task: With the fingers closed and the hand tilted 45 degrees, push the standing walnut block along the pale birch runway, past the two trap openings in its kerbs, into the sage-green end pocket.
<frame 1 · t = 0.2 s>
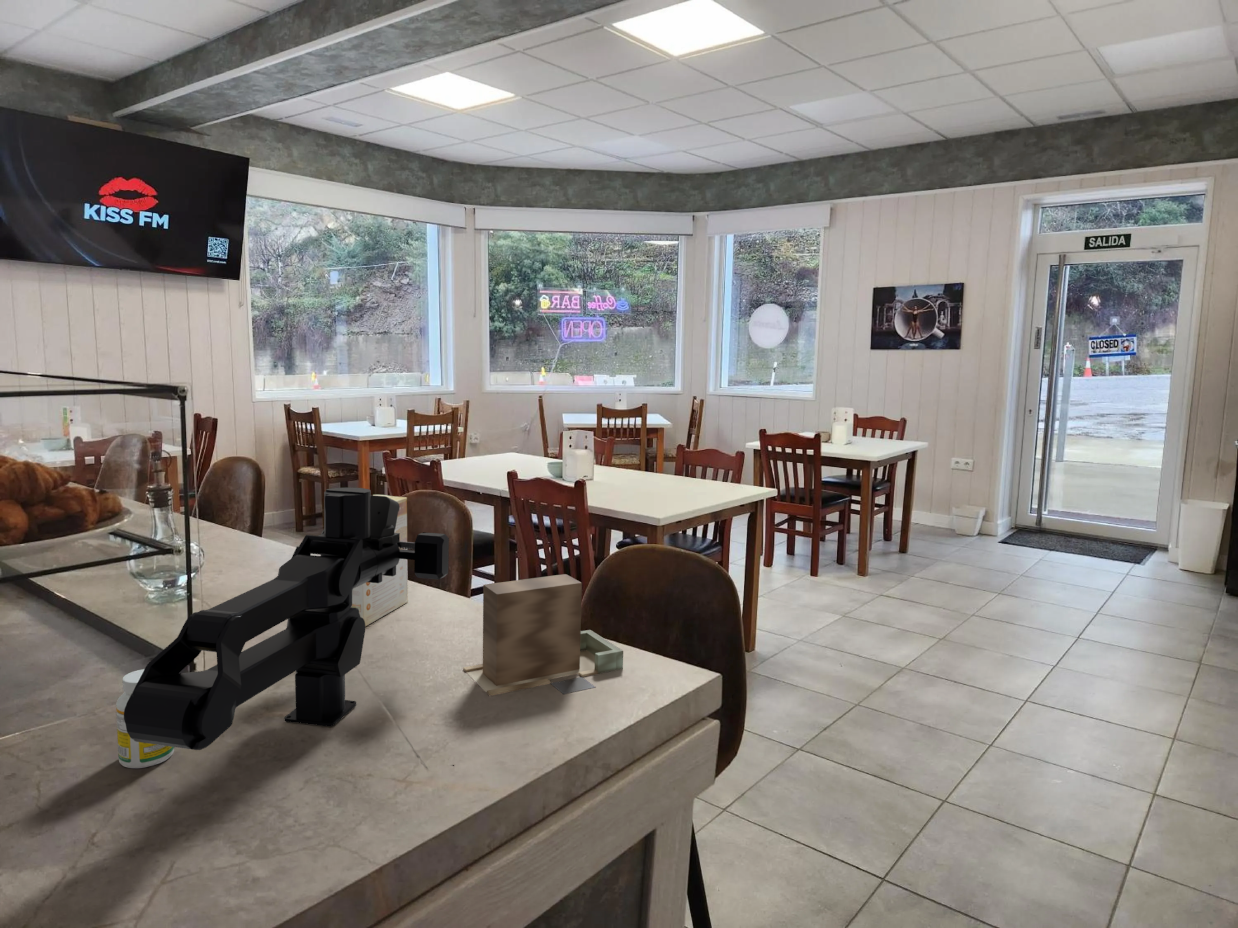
hand: (410, 541, 124), 17 cm above the bar counter, tool horizontal, fingers open, 9 cm apart
walnut block: (531, 671, 117), resting on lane
supplement bottle: (147, 759, 90), on the bar counter
coffeecake box: (369, 613, 141), on the bar counter
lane: (541, 671, 117), on the bar counter
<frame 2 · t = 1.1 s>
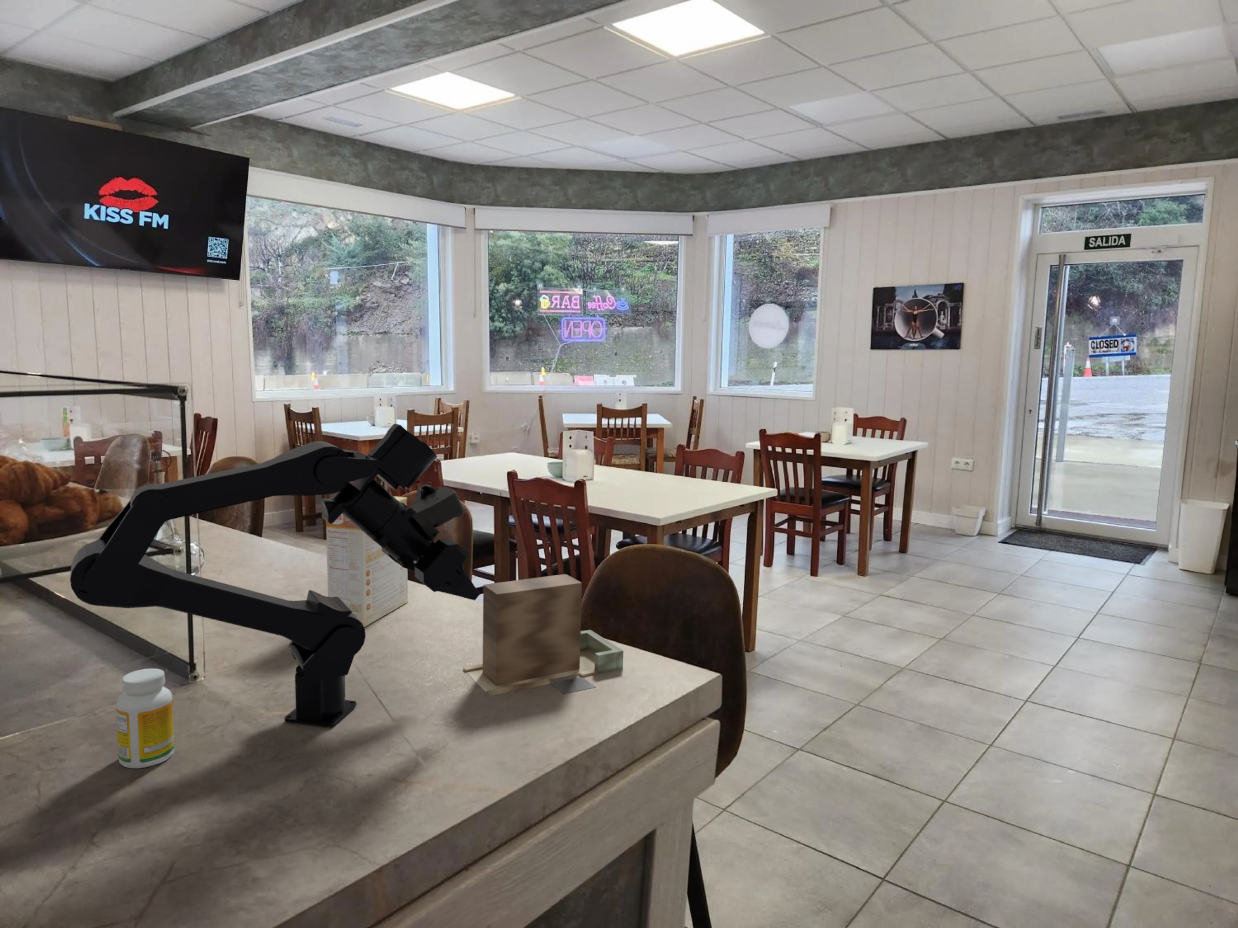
hand: (465, 588, 110), 14 cm above the bar counter, tool tilted 45°, fingers open, 8 cm apart
nothing on the bar counter moved.
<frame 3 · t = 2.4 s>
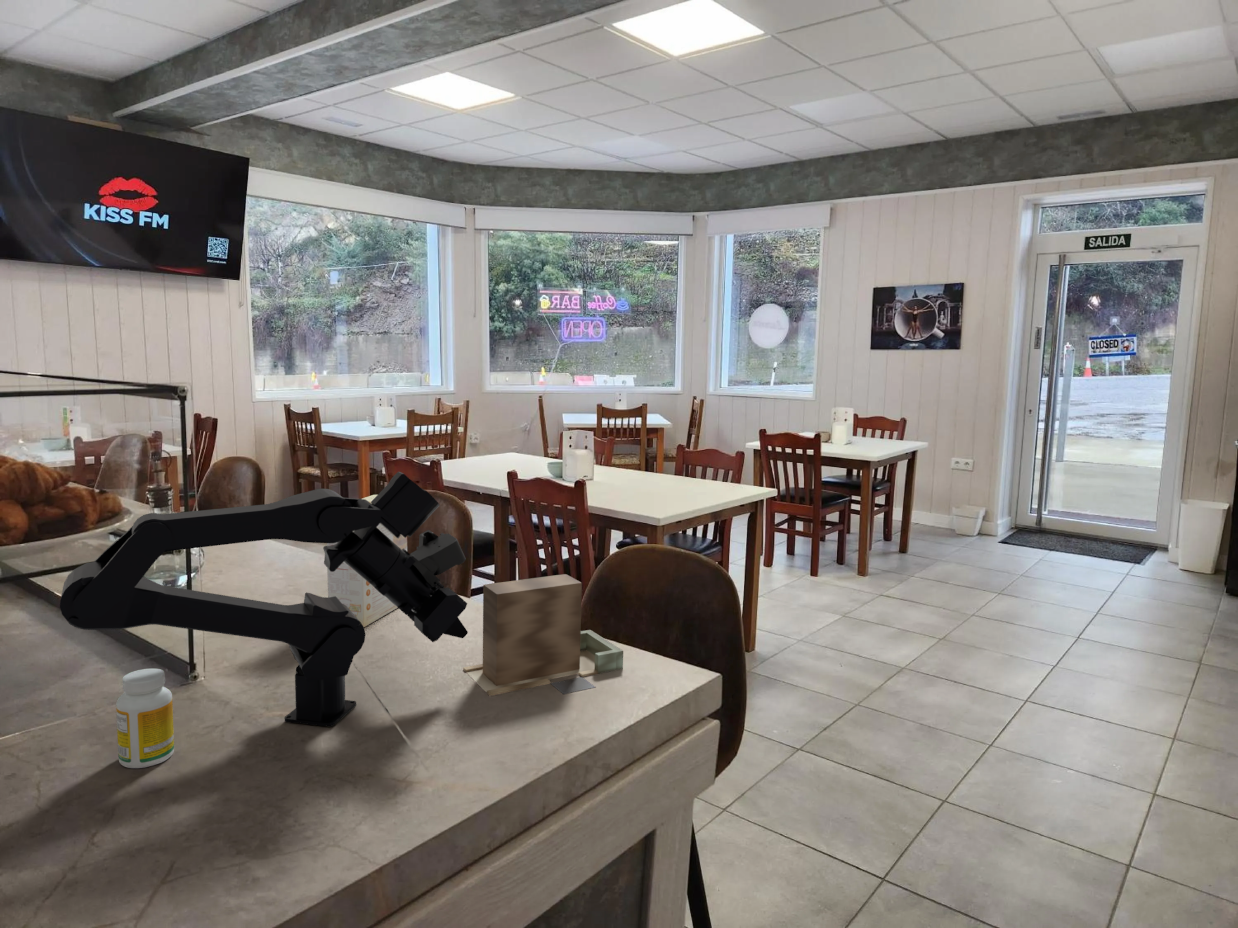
hand: (464, 634, 110), 7 cm above the bar counter, tool tilted 45°, fingers closed
nothing on the bar counter moved.
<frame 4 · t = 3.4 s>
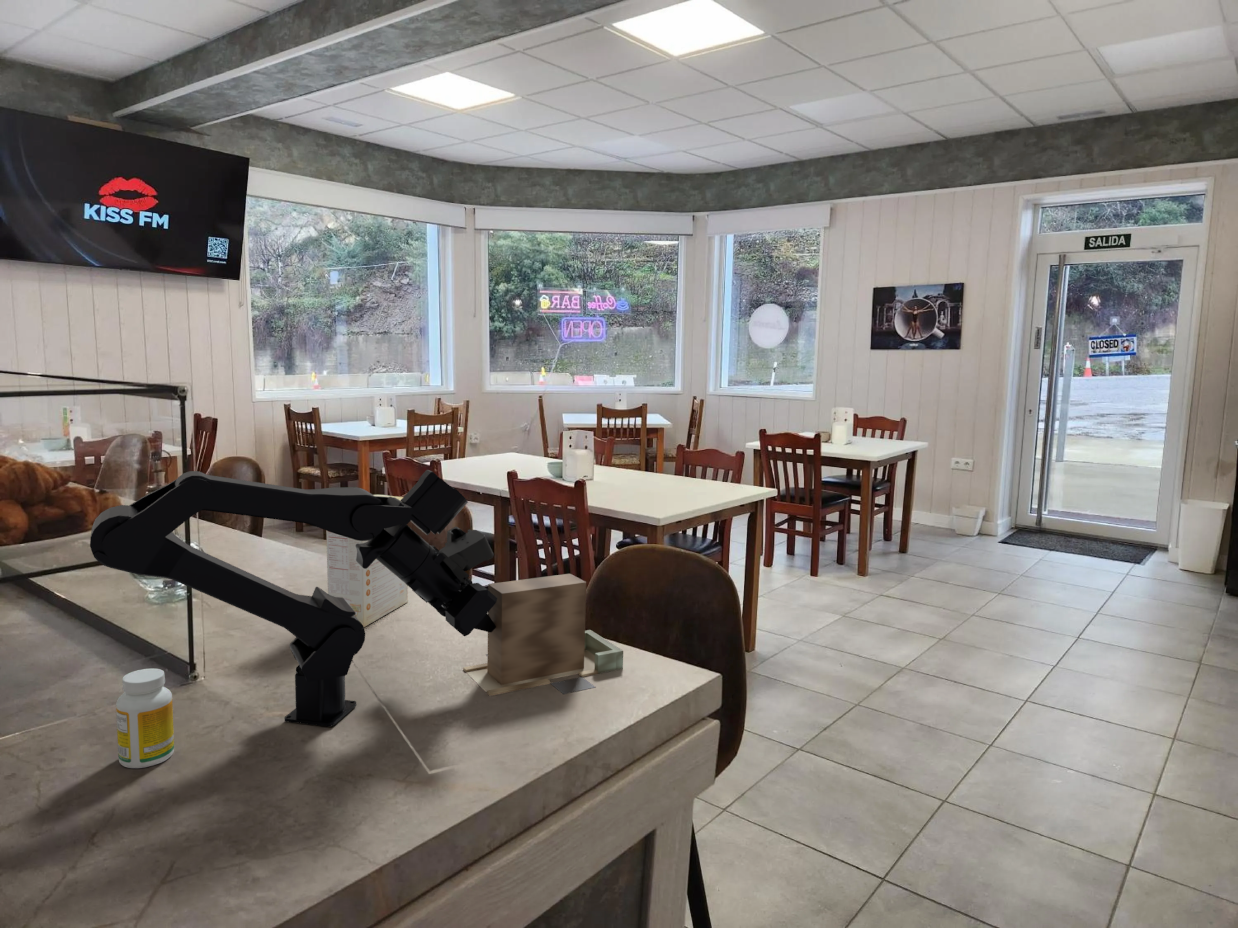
hand: (492, 628, 113), 8 cm above the bar counter, tool tilted 45°, fingers closed, pressing on walnut block
walnut block: (536, 670, 117), resting on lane, touching gripper
everything else where it was.
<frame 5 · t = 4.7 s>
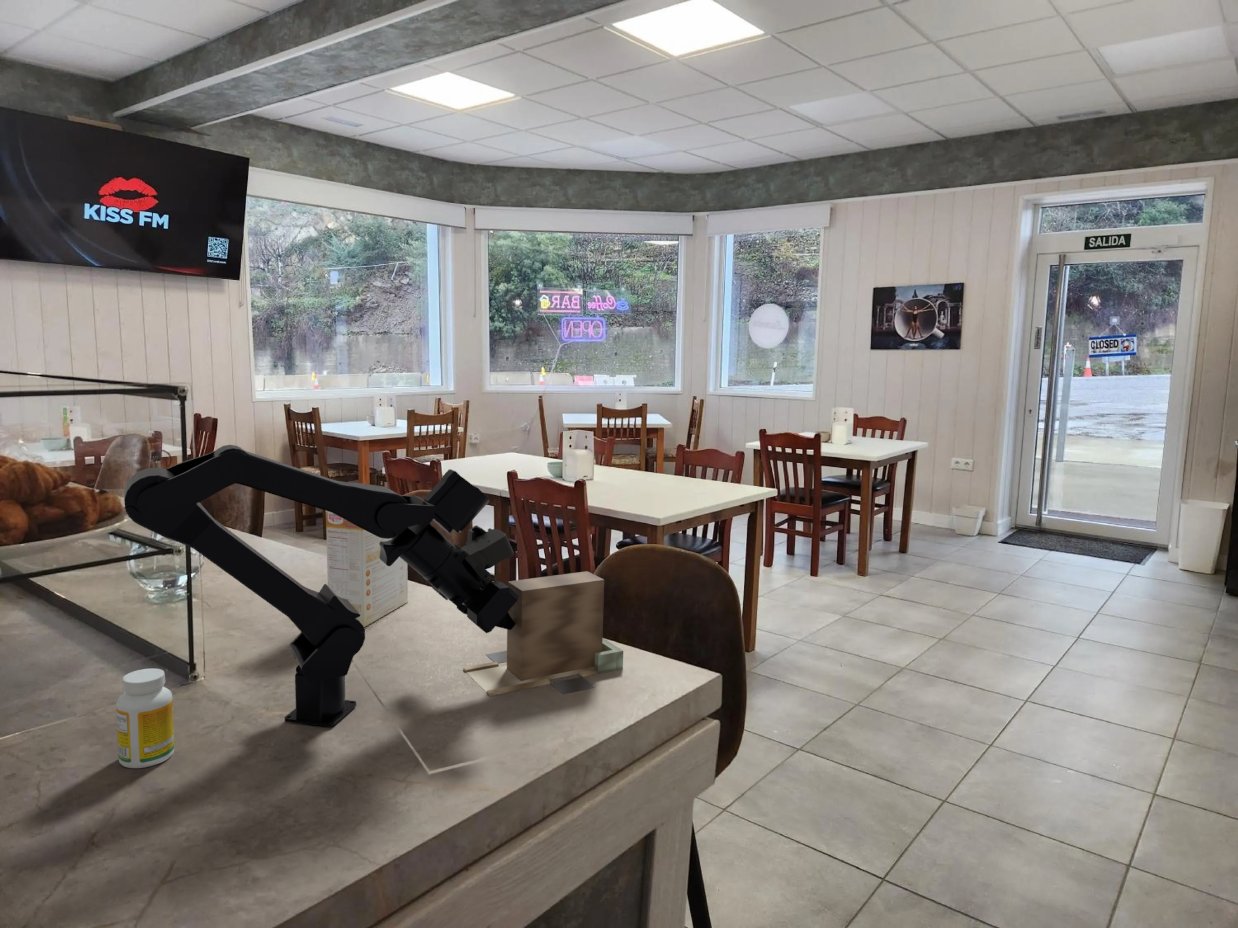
hand: (512, 626, 114), 7 cm above the bar counter, tool tilted 45°, fingers closed
walnut block: (554, 666, 119), resting on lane
everything else where it was.
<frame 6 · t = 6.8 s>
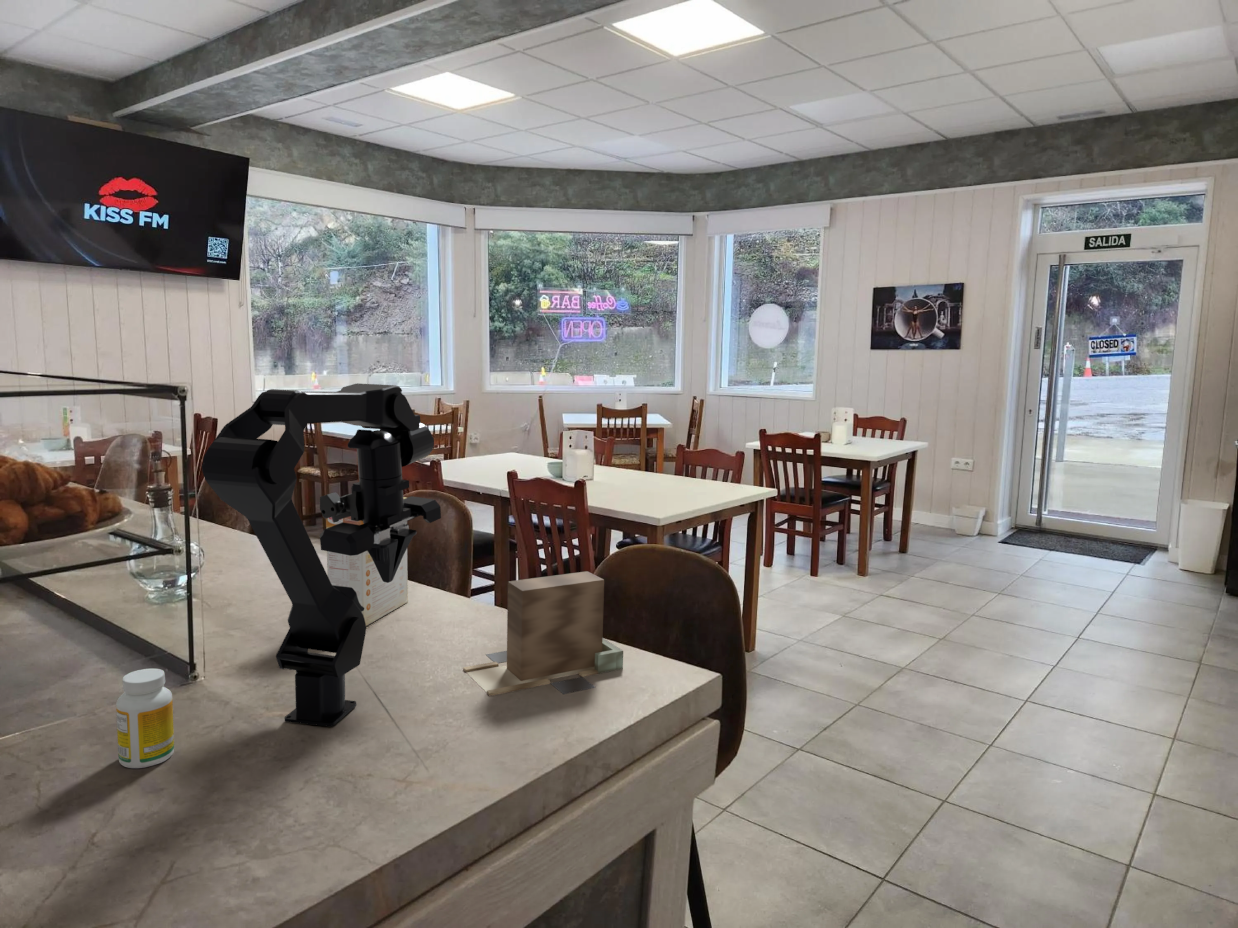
hand: (387, 581, 115), 13 cm above the bar counter, tool pointing down, fingers closed
nothing on the bar counter moved.
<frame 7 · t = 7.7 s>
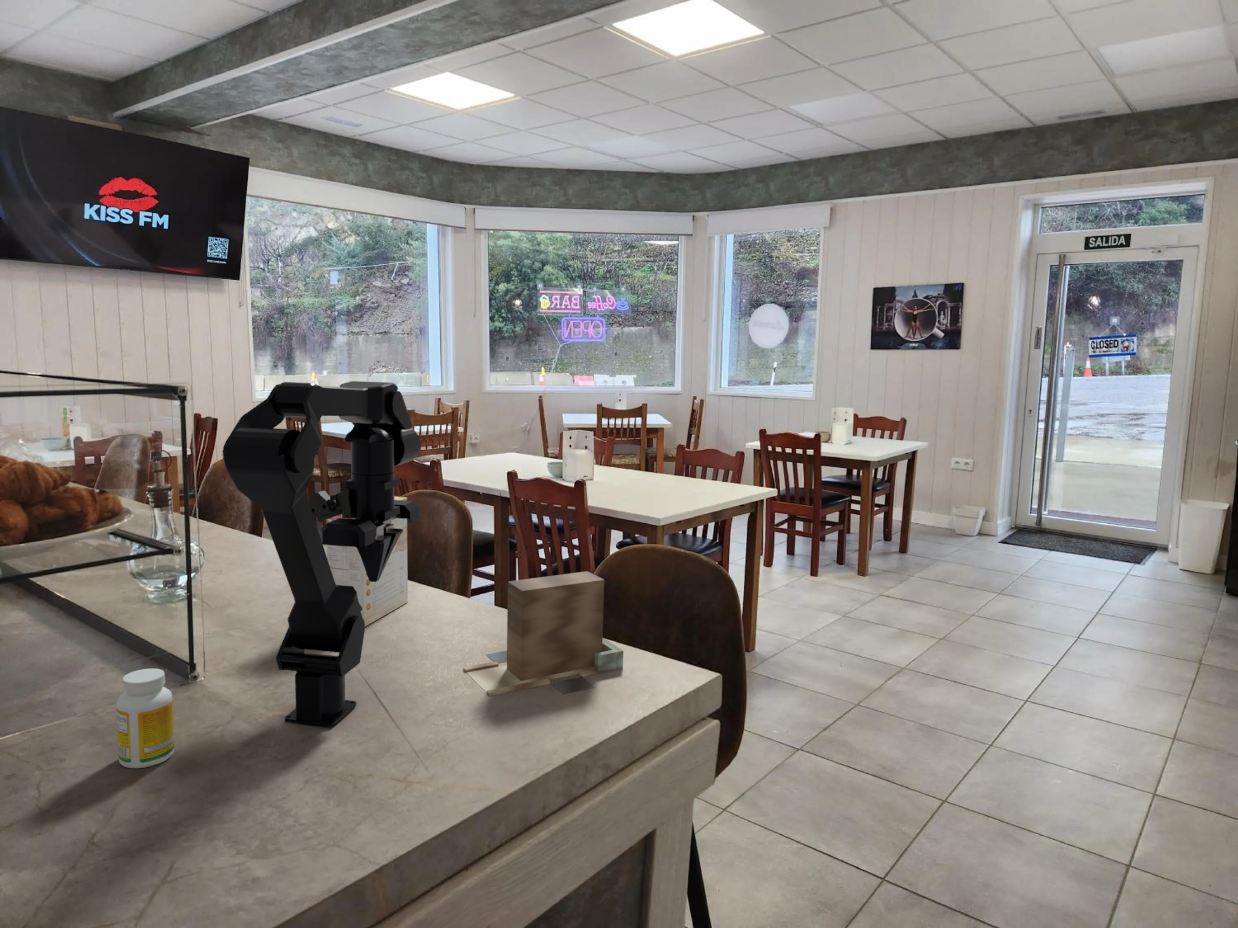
hand: (374, 581, 115), 13 cm above the bar counter, tool pointing down, fingers closed
nothing on the bar counter moved.
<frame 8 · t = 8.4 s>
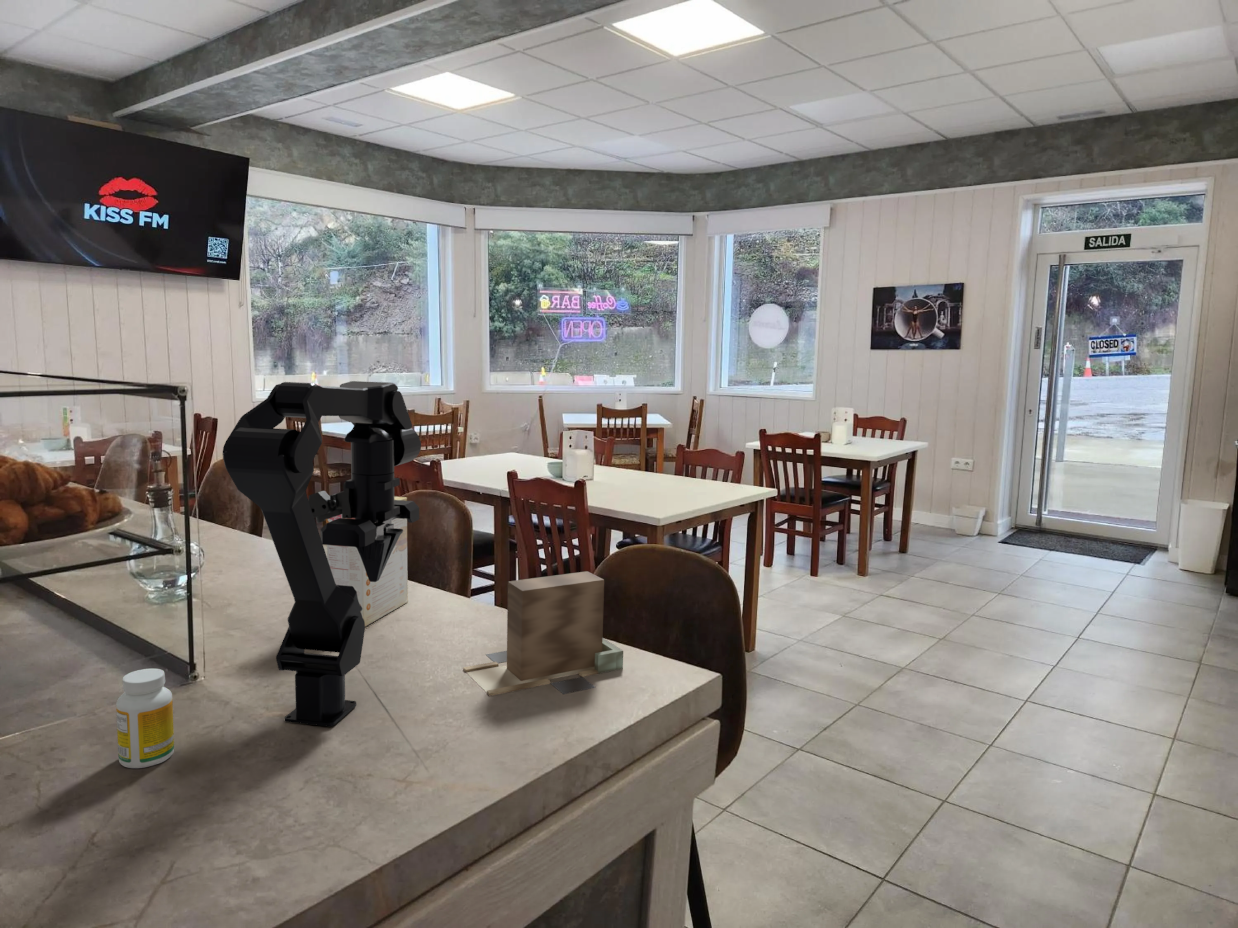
hand: (374, 581, 115), 13 cm above the bar counter, tool pointing down, fingers closed
nothing on the bar counter moved.
at the end: walnut block moved 3.7 cm from its start; walnut block inside the target area (0.5 cm from its centre), resting on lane; walnut block tilted 0° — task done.
